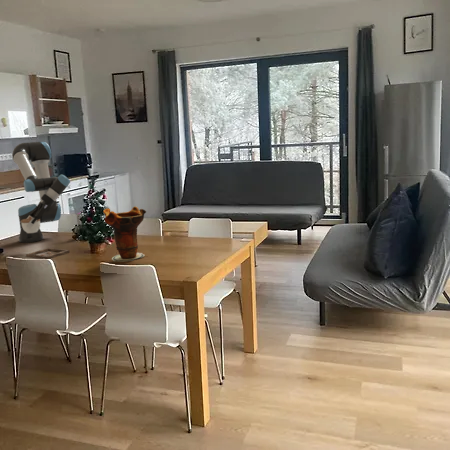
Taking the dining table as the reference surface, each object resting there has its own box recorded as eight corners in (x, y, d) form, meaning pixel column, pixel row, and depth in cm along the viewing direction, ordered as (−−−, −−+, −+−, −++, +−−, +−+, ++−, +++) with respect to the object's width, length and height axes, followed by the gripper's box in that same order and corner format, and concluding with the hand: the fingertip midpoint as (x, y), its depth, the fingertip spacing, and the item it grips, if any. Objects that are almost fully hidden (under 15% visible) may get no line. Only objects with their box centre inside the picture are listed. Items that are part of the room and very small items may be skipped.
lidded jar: (25, 231, 300) (23, 215, 298) (43, 229, 301) (41, 214, 299) (20, 234, 289) (17, 218, 288) (38, 233, 290) (36, 217, 288)
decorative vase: (158, 254, 269) (151, 204, 263) (121, 266, 254) (113, 212, 248) (137, 249, 284) (131, 201, 278) (101, 259, 270) (93, 209, 264)
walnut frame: (48, 249, 297) (48, 247, 296) (69, 252, 287) (69, 250, 287) (26, 256, 283) (25, 254, 283) (47, 259, 274) (47, 257, 274)
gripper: (59, 202, 290) (35, 232, 285) (50, 199, 309) (27, 227, 304) (49, 194, 286) (24, 225, 281) (40, 191, 306) (17, 220, 301)
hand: (26, 226), depth 293 cm, fingers closed on lidded jar, 11 cm apart
